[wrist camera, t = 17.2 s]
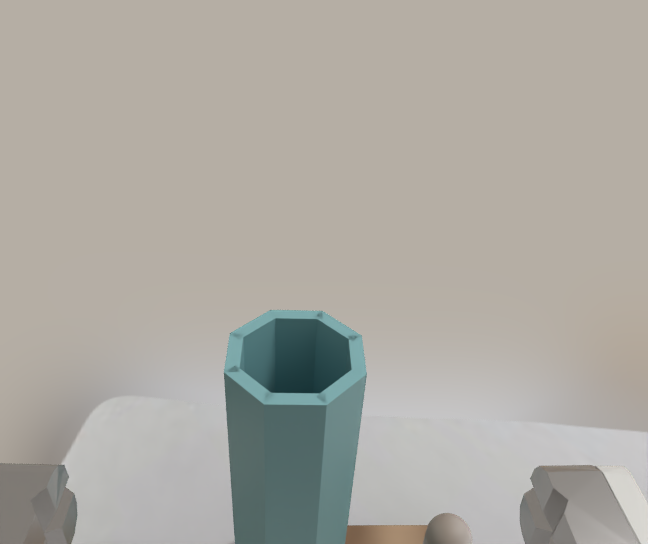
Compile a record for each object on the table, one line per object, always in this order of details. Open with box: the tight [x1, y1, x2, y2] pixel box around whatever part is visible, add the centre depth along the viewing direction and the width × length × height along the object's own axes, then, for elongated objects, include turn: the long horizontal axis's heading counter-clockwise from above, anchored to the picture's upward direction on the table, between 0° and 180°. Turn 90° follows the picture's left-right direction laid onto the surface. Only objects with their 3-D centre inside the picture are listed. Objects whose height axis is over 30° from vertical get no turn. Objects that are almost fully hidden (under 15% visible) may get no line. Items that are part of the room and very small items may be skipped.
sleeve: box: [224, 310, 367, 544], centre depth 30 cm, size 6×6×20 cm
